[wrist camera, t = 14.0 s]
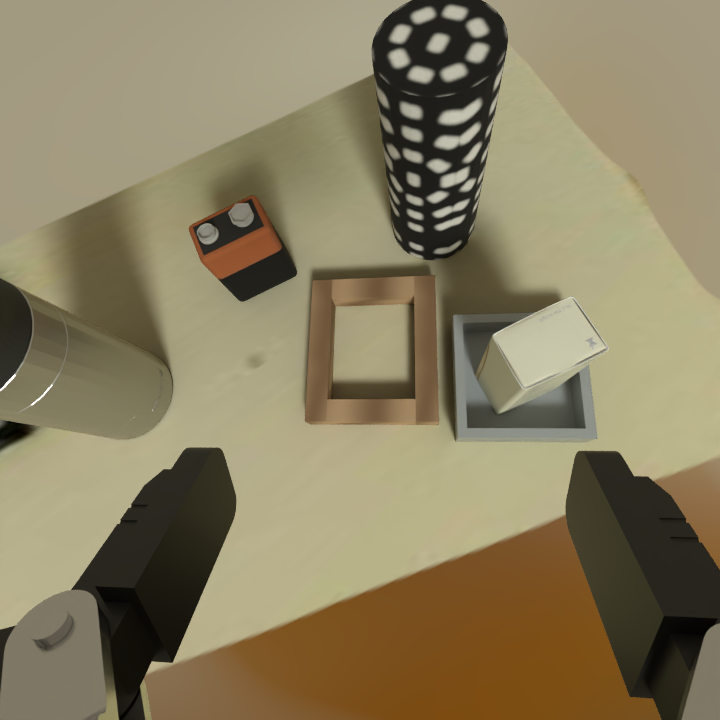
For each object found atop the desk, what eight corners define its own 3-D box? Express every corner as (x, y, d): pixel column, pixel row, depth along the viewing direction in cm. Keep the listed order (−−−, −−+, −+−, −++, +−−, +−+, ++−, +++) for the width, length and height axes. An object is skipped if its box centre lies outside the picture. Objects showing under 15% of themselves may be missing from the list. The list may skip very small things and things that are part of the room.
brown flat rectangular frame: (310, 424, 43) (304, 421, 41) (317, 288, 47) (312, 280, 45) (438, 424, 41) (438, 421, 39) (434, 284, 45) (435, 275, 43)
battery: (299, 276, 47) (267, 223, 38) (241, 304, 48) (195, 258, 38) (284, 244, 49) (250, 184, 39) (228, 271, 49) (180, 219, 39)
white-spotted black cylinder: (454, 271, 45) (475, 112, 26) (379, 244, 47) (349, 77, 28) (486, 204, 47) (528, 7, 28) (413, 180, 49) (405, -19, 30)
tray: (455, 441, 41) (457, 437, 38) (451, 326, 44) (453, 314, 41) (585, 442, 39) (597, 438, 36) (571, 323, 42) (582, 310, 39)
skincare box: (533, 346, 41) (575, 290, 30) (559, 389, 40) (614, 348, 28) (471, 375, 41) (489, 331, 30) (495, 419, 40) (524, 391, 29)
